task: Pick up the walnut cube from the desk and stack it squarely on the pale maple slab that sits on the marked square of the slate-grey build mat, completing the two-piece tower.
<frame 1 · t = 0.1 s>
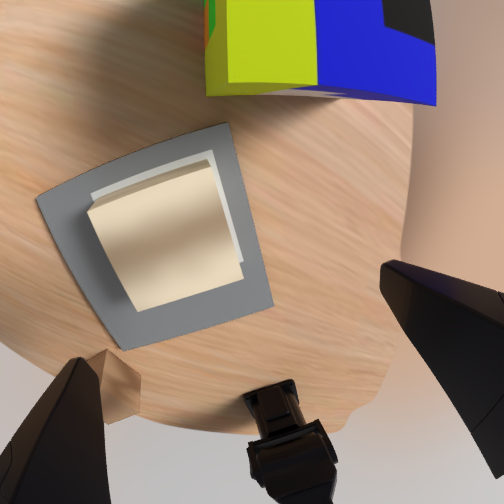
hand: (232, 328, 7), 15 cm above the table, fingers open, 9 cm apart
build mat: (160, 254, 22), on the table
maple slab: (169, 228, 20), point 1 cm above the table, touching build mat
puzzle toy: (275, 32, 16), on the table
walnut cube: (109, 370, 26), on the table
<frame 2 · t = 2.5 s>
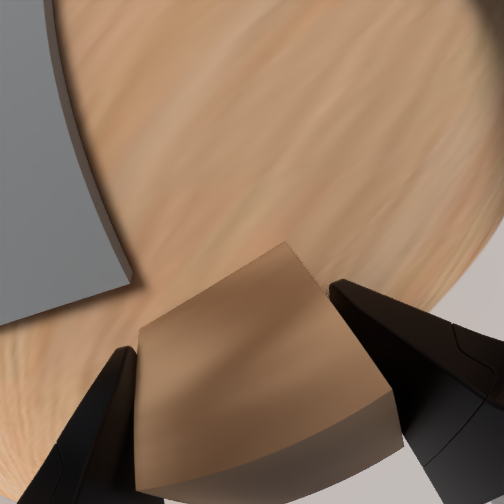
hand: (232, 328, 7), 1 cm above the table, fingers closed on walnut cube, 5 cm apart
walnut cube: (250, 339, 9), on the table, touching gripper
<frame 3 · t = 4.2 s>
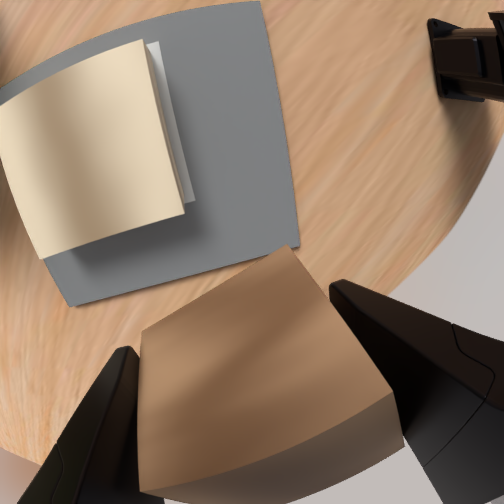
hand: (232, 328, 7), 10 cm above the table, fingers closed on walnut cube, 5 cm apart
build mat: (137, 159, 14), on the table
maple slab: (94, 146, 13), point 1 cm above the table, touching build mat
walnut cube: (251, 340, 9), point 9 cm above the table, touching gripper
when the fingers open (6 cm above the table, at t = 5.7 s): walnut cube drops 1 cm, resting on maple slab.
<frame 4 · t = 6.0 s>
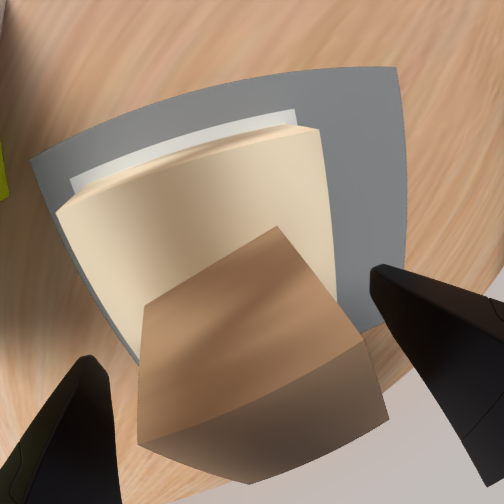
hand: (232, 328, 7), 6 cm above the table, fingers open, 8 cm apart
build mat: (260, 253, 13), on the table
maple slab: (210, 243, 12), point 1 cm above the table, touching build mat, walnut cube
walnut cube: (245, 317, 10), point 4 cm above the table, touching maple slab
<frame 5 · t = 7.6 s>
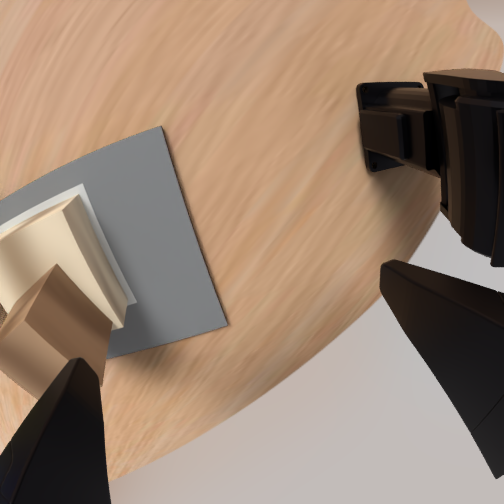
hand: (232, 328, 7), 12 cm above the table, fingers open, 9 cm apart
build mat: (90, 273, 18), on the table
maple slab: (56, 268, 16), point 1 cm above the table, touching build mat, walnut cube
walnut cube: (60, 312, 15), point 4 cm above the table, touching maple slab
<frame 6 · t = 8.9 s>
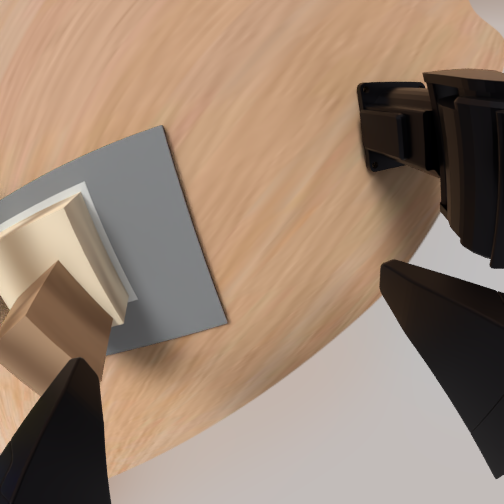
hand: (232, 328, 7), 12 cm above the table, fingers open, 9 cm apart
build mat: (91, 270, 18), on the table
maple slab: (58, 265, 17), point 1 cm above the table, touching build mat, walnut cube
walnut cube: (61, 308, 15), point 4 cm above the table, touching maple slab
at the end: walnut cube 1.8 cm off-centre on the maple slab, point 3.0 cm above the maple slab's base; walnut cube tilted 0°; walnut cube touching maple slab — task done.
